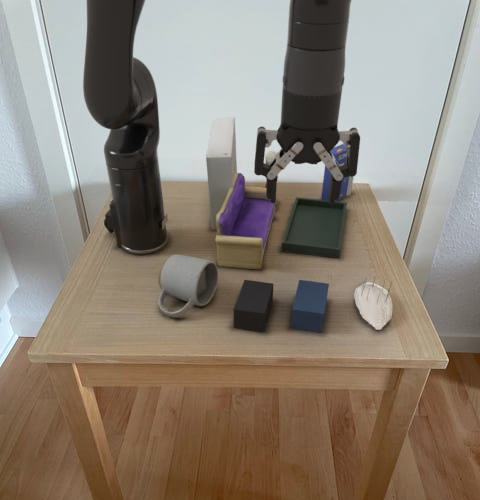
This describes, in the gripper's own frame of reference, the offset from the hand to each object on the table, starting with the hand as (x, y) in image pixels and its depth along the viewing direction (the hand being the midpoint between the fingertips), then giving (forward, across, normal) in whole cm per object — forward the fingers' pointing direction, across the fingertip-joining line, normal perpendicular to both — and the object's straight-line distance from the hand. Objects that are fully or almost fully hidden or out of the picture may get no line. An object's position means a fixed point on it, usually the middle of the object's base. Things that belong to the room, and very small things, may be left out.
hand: (301, 200), depth 73 cm
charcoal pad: (+19, +7, +4) cm, 20 cm away
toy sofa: (+19, +8, -19) cm, 28 cm away
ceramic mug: (+19, +18, +1) cm, 26 cm away
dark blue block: (+19, -2, +4) cm, 19 cm away
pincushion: (+19, -13, +2) cm, 23 cm away
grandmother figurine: (+19, +4, -33) cm, 38 cm away
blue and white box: (+19, -12, -38) cm, 44 cm away
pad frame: (+19, -6, -23) cm, 31 cm away
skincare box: (+19, +14, -33) cm, 40 cm away
